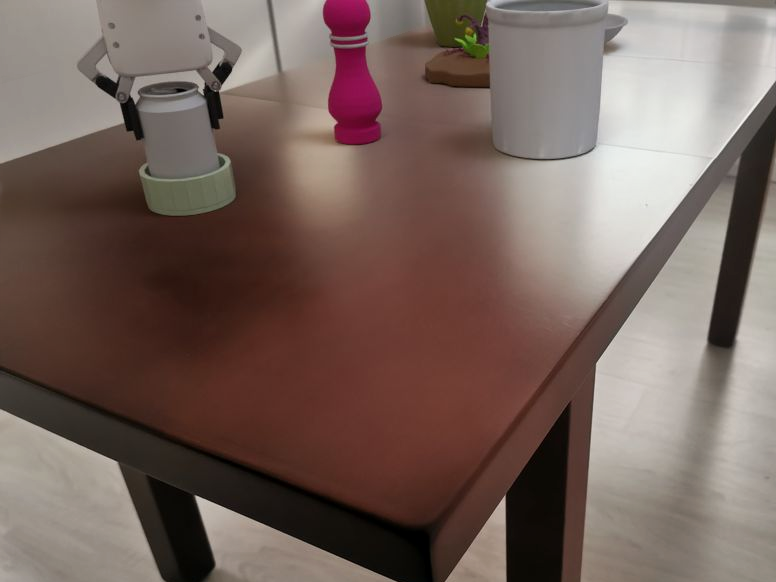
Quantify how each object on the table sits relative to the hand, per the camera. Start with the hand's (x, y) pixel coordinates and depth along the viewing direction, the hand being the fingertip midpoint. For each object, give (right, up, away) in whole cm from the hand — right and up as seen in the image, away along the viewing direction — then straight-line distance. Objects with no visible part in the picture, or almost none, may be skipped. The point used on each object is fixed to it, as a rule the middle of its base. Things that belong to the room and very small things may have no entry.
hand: (176, 130), depth 88 cm
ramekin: (0, -7, +4) cm, 8 cm away
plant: (+35, +24, +52) cm, 67 cm away
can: (0, -6, +4) cm, 7 cm away
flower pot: (+30, +37, +74) cm, 88 cm away
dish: (+55, +34, +68) cm, 94 cm away
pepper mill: (+17, +5, +23) cm, 28 cm away
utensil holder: (+42, +3, +19) cm, 46 cm away
